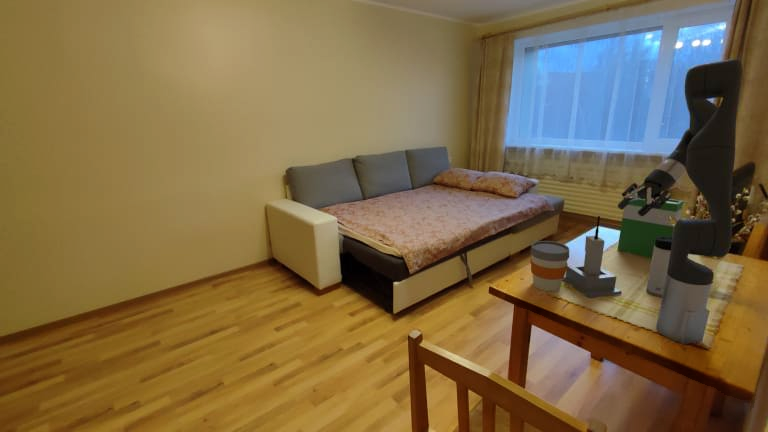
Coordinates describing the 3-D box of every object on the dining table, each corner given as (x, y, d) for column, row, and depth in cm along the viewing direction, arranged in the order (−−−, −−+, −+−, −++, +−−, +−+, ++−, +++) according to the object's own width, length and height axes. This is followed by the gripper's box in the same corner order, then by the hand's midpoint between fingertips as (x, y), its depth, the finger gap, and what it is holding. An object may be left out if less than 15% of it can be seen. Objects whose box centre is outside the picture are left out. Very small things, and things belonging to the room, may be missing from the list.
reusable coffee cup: (552, 297, 119) (556, 257, 115) (520, 284, 129) (523, 246, 125) (573, 286, 126) (577, 247, 121) (541, 274, 136) (544, 238, 131)
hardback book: (617, 250, 154) (625, 197, 148) (623, 245, 159) (631, 194, 152) (666, 261, 141) (678, 204, 134) (672, 256, 146) (683, 200, 139)
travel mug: (660, 299, 115) (671, 242, 109) (641, 290, 121) (651, 235, 115) (675, 296, 116) (687, 239, 111) (655, 287, 122) (665, 233, 117)
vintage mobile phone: (590, 278, 128) (599, 213, 121) (598, 285, 123) (608, 217, 116) (580, 278, 128) (588, 213, 121) (587, 285, 124) (596, 217, 116)
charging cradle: (621, 294, 119) (623, 279, 117) (589, 298, 118) (591, 282, 116) (588, 273, 134) (590, 260, 133) (559, 277, 133) (561, 263, 131)
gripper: (641, 165, 124) (607, 199, 126) (679, 171, 110) (640, 209, 112) (652, 179, 126) (618, 212, 128) (691, 187, 112) (652, 224, 114)
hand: (629, 211), depth 120 cm, fingers open, 8 cm apart
